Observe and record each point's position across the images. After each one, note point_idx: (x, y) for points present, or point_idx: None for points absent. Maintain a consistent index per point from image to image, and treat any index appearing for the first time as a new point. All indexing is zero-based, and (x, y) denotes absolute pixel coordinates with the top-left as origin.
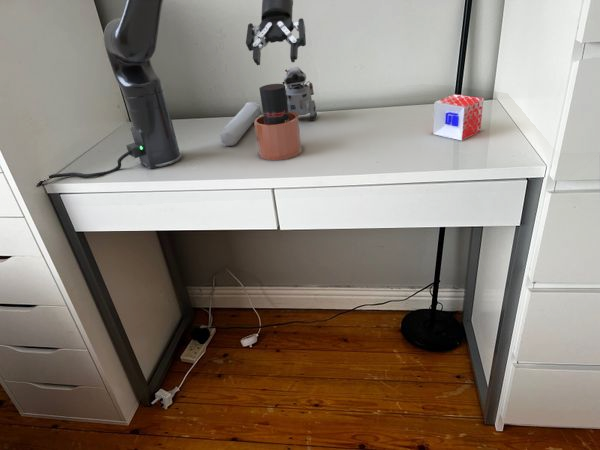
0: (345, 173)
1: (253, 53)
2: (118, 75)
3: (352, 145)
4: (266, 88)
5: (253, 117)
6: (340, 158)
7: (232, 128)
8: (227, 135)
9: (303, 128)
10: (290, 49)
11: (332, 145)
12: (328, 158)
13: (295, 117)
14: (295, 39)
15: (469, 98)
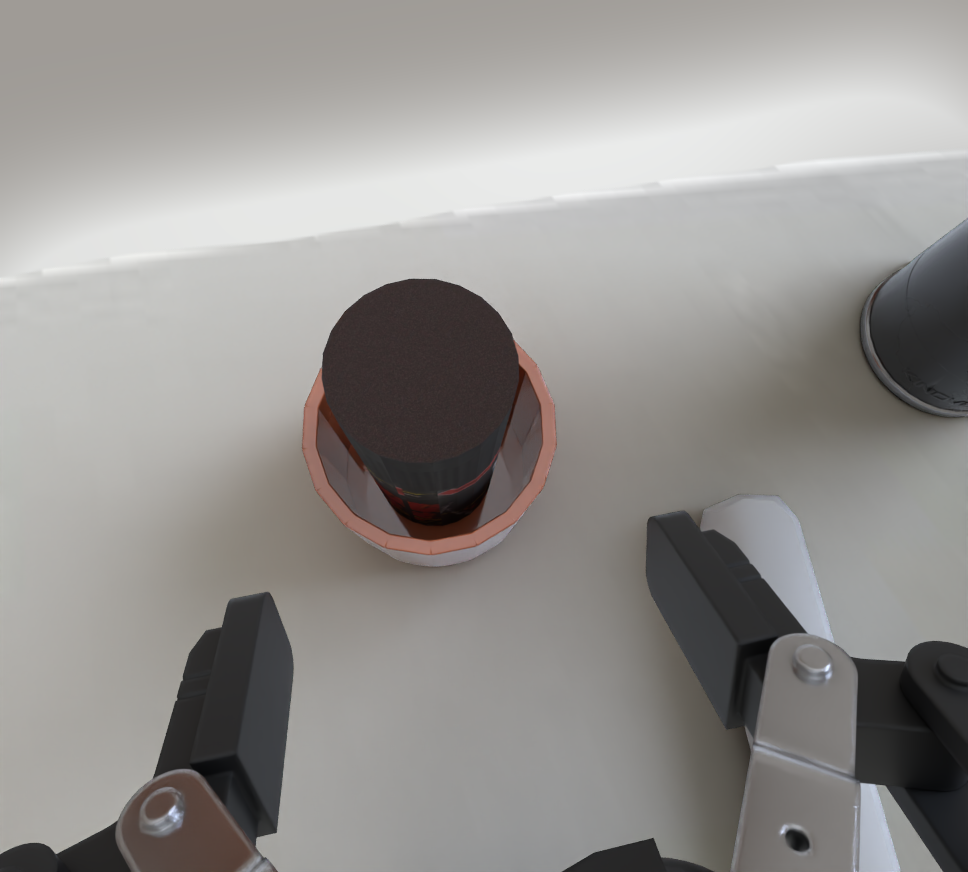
0: (102, 282)
1: (759, 581)
2: None
3: (102, 574)
4: (451, 327)
5: None
6: (141, 418)
7: (749, 547)
8: (742, 497)
9: (431, 838)
10: (250, 673)
11: (203, 569)
12: (194, 414)
13: (314, 440)
14: (132, 839)
15: None
